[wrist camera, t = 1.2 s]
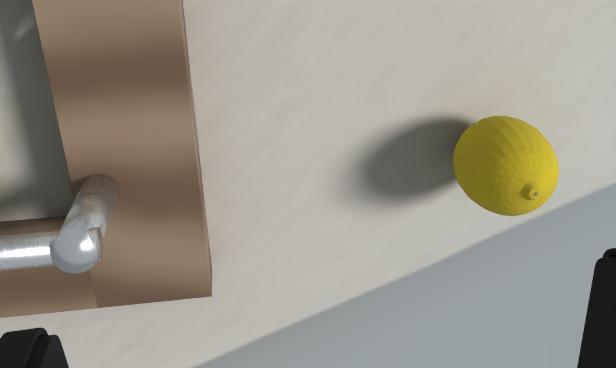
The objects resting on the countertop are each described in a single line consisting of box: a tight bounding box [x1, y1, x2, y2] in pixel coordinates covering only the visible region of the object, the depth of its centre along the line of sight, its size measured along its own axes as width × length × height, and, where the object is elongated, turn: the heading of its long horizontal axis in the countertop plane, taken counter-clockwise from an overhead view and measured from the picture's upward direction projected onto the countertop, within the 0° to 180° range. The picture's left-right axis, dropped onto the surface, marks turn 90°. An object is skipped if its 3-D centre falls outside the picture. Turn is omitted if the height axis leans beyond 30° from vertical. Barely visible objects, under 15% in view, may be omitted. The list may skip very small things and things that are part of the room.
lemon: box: [453, 116, 559, 216], centre depth 35 cm, size 6×6×8 cm
